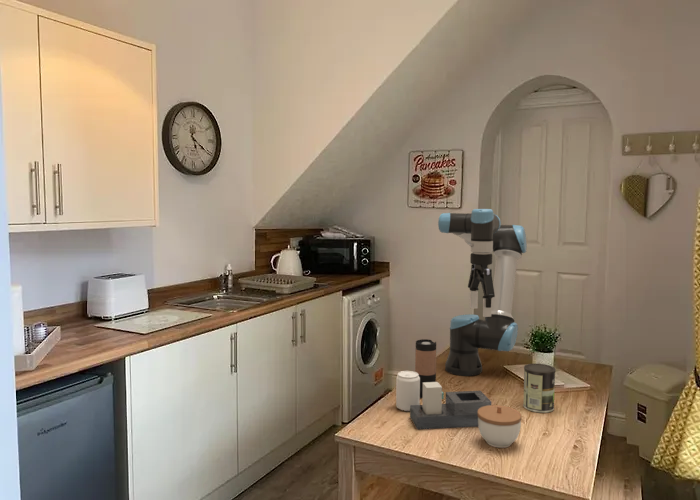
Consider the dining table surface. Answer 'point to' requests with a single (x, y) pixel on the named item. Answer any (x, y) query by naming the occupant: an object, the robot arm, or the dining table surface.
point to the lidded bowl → (499, 425)
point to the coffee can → (539, 388)
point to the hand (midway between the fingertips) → (480, 312)
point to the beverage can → (407, 390)
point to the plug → (432, 398)
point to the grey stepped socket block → (452, 411)
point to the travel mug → (425, 362)
